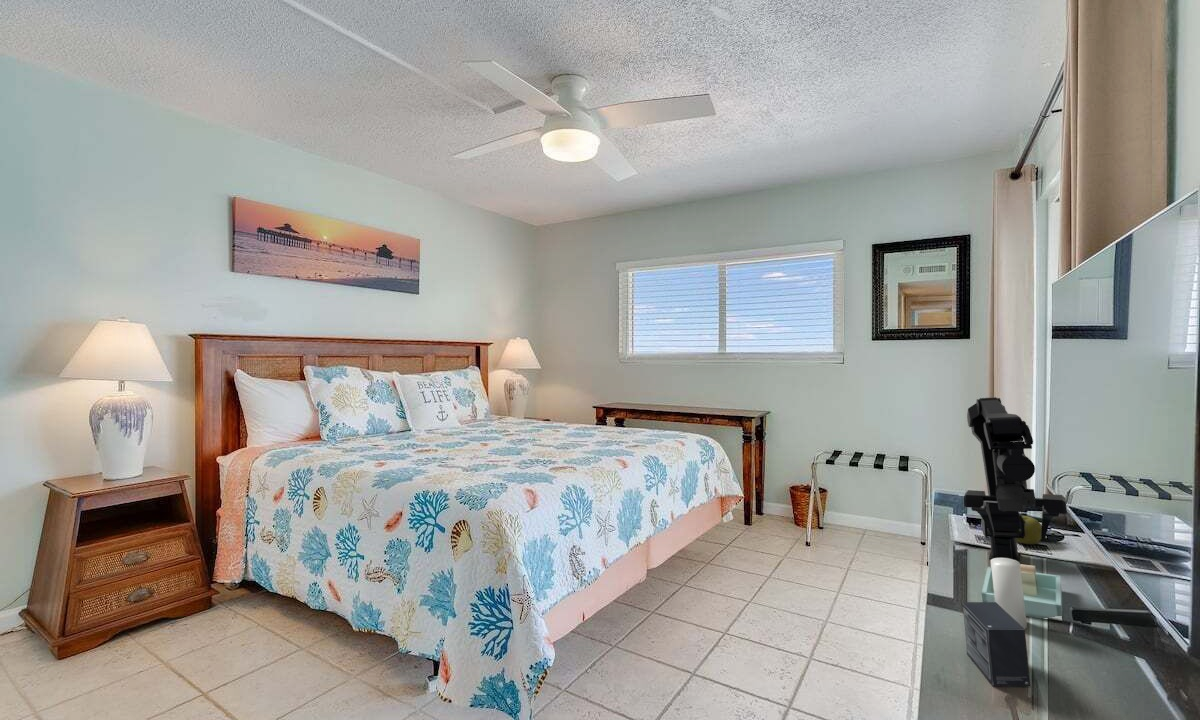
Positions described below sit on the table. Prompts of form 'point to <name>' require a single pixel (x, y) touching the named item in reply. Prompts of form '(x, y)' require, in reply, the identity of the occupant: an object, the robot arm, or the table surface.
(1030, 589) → the cube
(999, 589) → the white tapered cylinder
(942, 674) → the table surface
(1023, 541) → the apple
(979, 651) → the small box
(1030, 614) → the tote
